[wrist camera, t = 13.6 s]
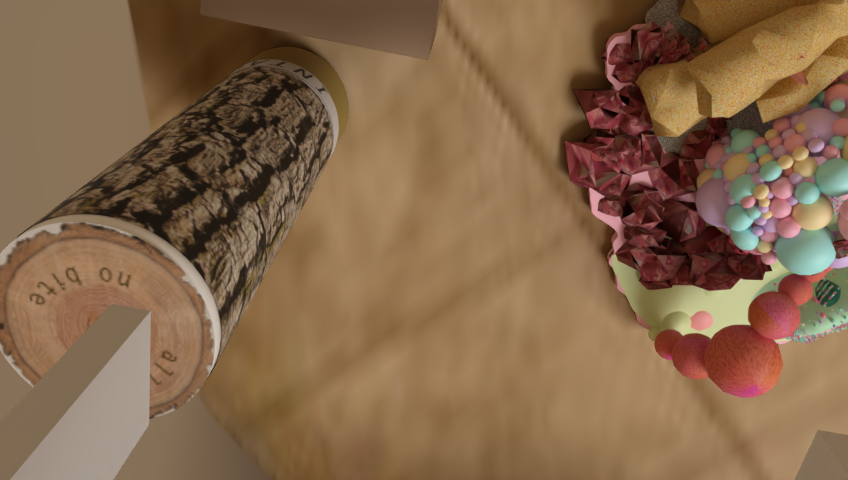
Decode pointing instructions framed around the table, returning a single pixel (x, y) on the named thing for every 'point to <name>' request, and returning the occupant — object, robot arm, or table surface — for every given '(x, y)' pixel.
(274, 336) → the table surface
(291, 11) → the hollow walnut box
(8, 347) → the bark covered log
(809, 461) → the robot arm
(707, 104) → the candy landscape model
